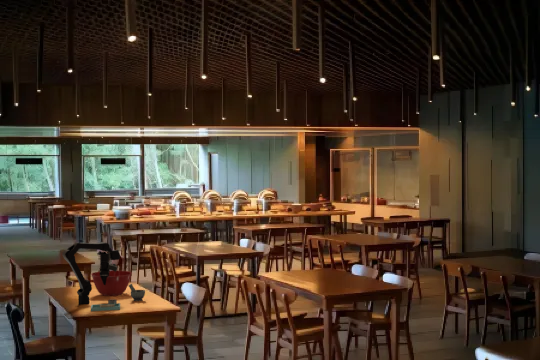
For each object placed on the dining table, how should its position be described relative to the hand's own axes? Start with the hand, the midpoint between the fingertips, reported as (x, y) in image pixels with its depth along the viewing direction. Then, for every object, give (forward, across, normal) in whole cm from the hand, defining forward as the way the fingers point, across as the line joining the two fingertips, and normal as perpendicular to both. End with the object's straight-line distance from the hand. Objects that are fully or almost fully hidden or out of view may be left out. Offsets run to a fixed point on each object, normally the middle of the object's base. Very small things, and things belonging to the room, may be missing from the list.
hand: (104, 284), depth 481 cm
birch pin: (+11, -28, +2) cm, 30 cm away
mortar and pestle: (+12, -4, -21) cm, 25 cm away
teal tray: (+12, -28, -1) cm, 30 cm away
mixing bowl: (+12, +27, -4) cm, 30 cm away
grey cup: (+12, -18, -5) cm, 22 cm away
